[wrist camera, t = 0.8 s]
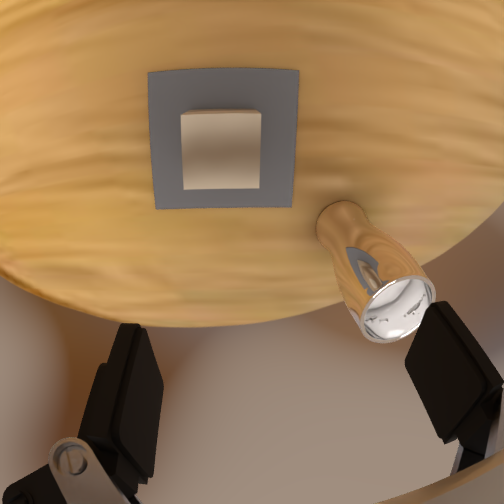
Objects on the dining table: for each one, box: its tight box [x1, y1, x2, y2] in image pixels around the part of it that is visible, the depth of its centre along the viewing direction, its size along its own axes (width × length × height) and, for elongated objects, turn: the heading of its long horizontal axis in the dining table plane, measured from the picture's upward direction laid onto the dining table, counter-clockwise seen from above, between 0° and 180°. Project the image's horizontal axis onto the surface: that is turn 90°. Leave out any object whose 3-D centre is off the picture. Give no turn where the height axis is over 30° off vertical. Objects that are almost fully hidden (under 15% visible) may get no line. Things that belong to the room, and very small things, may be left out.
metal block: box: [181, 109, 261, 190], centre depth 26 cm, size 6×6×6 cm
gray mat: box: [148, 68, 299, 209], centre depth 29 cm, size 14×14×1 cm
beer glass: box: [316, 201, 436, 343], centre depth 28 cm, size 7×7×15 cm
